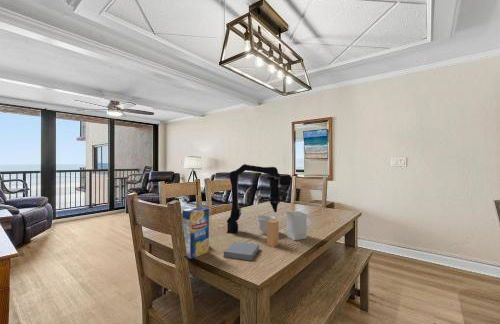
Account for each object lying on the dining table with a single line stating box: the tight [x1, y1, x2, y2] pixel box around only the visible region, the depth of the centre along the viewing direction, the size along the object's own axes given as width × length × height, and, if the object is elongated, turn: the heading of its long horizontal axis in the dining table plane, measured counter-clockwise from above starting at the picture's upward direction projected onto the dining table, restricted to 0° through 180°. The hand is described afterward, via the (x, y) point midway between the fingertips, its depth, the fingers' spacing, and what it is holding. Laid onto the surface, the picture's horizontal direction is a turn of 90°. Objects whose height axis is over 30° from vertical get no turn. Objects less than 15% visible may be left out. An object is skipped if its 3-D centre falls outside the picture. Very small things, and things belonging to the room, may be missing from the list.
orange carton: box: [266, 219, 280, 248], centre depth 127 cm, size 5×5×13 cm
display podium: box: [223, 241, 260, 261], centre depth 116 cm, size 14×14×2 cm
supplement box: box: [286, 210, 308, 241], centre depth 139 cm, size 9×9×15 cm
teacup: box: [256, 214, 276, 235], centre depth 149 cm, size 12×15×10 cm
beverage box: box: [182, 206, 210, 259], centre depth 115 cm, size 7×11×22 cm, turn 138°
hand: (275, 210), depth 147 cm, fingers open, 9 cm apart
